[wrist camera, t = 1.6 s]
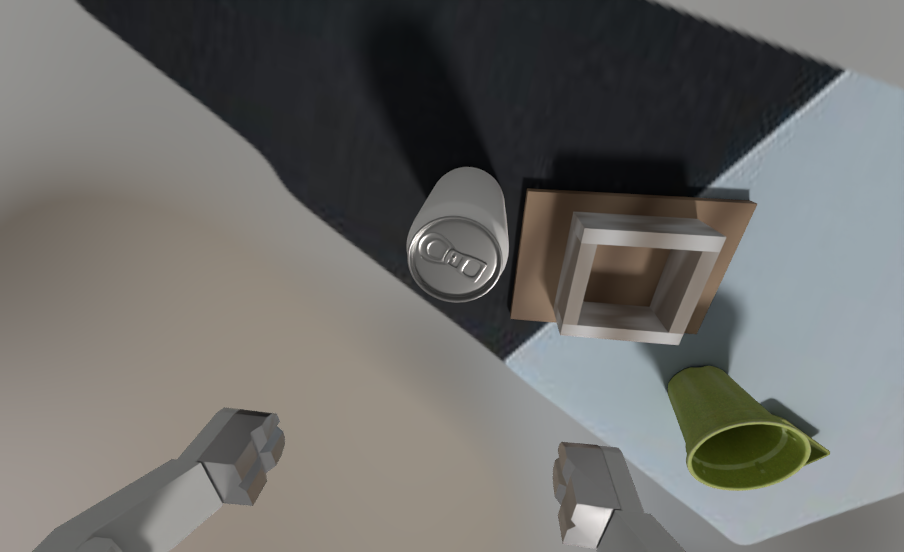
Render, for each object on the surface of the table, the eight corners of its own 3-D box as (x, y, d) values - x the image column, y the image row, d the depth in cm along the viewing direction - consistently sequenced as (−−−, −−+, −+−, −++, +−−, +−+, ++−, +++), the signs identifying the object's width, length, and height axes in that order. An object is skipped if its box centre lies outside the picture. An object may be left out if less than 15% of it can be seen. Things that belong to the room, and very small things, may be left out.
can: (452, 151, 28) (429, 186, 18) (518, 189, 29) (532, 244, 19) (419, 215, 32) (383, 278, 21) (480, 248, 32) (475, 324, 22)
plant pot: (631, 394, 39) (664, 467, 32) (695, 338, 35) (751, 407, 27) (696, 424, 40) (743, 502, 33) (766, 374, 36) (839, 451, 28)
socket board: (745, 198, 28) (796, 220, 24) (688, 324, 35) (720, 362, 30) (526, 186, 30) (532, 205, 25) (510, 310, 36) (512, 344, 31)
